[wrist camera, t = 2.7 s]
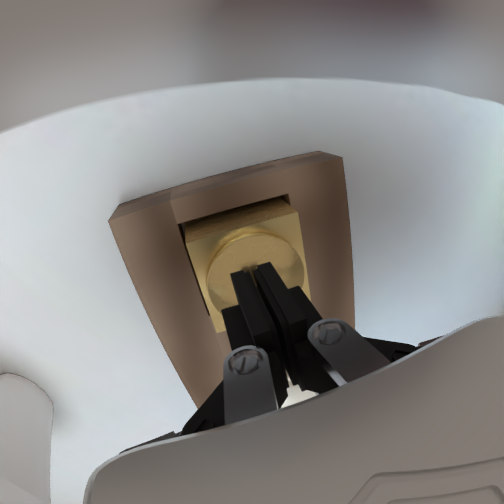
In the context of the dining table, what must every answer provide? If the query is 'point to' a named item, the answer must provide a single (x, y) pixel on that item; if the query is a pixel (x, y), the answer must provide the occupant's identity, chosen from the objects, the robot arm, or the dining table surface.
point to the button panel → (182, 271)
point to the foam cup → (24, 441)
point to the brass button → (245, 250)
